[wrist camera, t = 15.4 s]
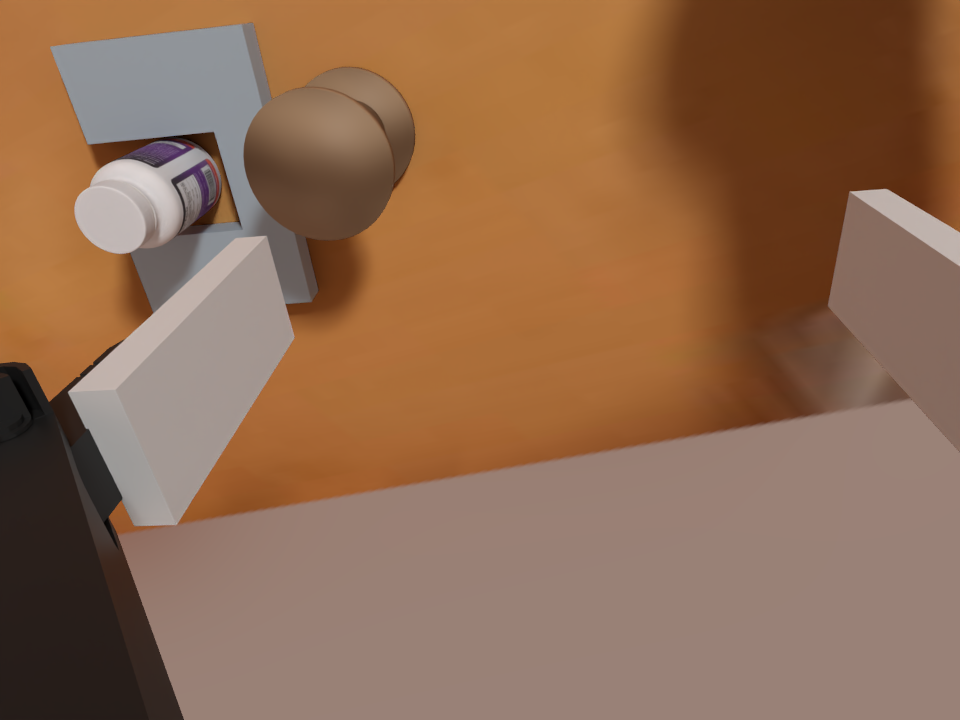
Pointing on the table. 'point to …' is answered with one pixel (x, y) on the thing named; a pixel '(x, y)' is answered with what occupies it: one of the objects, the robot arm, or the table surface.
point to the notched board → (180, 111)
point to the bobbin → (329, 153)
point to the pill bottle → (148, 196)
